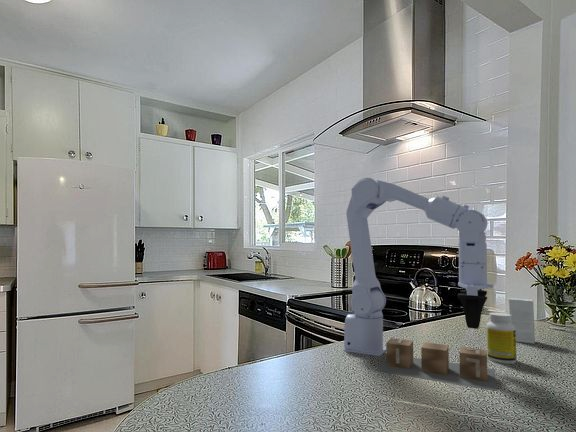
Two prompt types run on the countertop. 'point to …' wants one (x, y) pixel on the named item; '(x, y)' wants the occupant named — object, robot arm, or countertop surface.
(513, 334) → the pill bottle
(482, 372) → the digit block 7
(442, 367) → the plain block
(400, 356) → the digit block 1
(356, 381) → the countertop surface
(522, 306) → the skincare box
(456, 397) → the countertop surface
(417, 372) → the mat
